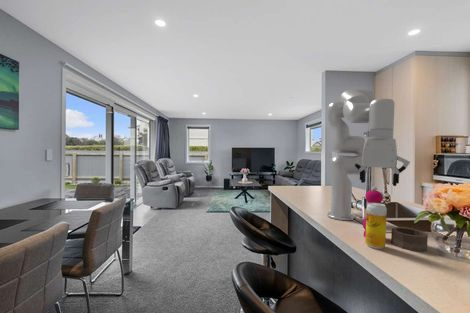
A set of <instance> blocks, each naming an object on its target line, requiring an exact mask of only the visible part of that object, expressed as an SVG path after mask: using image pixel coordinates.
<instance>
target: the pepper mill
mask: <svg viewBox="0 0 470 313" xmlns="http://www.w3.org/2000/svg"><path fill="white" fill-rule="evenodd" d="M364 197H365V200H366V201H367V202H366V206H367V205H368V203H380V204H382V201H384V196H383V194H382V192H380V191H378V188H377V187H376V186H372V187H371V190H368V191H367V192H366V193H365V196H364ZM362 228H363V230H364V231H363V237H364V238H366V216H365V217H364V219H363V221H362Z"/></svg>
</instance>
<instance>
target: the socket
mask: <svg viewBox="0 0 470 313" xmlns="http://www.w3.org/2000/svg"><path fill="white" fill-rule="evenodd" d="M390 237H391V241H390V243H391V244H392V245H393V246H395V247H399V248H401V249H403V250H408V251H413V252H425V251H428V238H429V234H428V233H427V232H425V231H423V230H418V229H416V228H410V227H404V226H393V227H392V228H391V236H390Z"/></svg>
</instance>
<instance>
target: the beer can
mask: <svg viewBox="0 0 470 313" xmlns="http://www.w3.org/2000/svg"><path fill="white" fill-rule="evenodd" d="M387 210H388V209H387V207H386V204H384V203H368V205H367V204H366V213H365V214H366V215H365V217H366V237H364V238H365V239H364V240H365V244H366V246H367V247H369V248H370V249H374V250H383V249H384V248H385V247H386V235H387V212H388V211H387Z"/></svg>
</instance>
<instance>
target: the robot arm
mask: <svg viewBox="0 0 470 313" xmlns="http://www.w3.org/2000/svg"><path fill="white" fill-rule="evenodd" d="M339 99H340V101H338V100H337V101H333V102H331V103H329V105H328V106H327V112H326V114H327V120H328V124H329V126H330V128H331V141H332V150H333V152H334V153H335V154H340V155H336V156H333V157H332V158H331V159H330V170H331V171H330V172H331V190H330V191H331V194H330V195H331V197H330V212H329V211H328V212H327V217H329V218H331V219H333V220H337V221H353V220H354V219H355V216H354V215H352V198H353V197H352V196H353V183H352V181H351V179H350V178H349V175H354V176H359V181H360V182H361V183H362V184H364V183H366V177H367V176H366V175H367V173H368V171H369V168H382V169H391V170H392V171H393V177H392V186H394V187H396V186H397V184H399V183H400V174H401V173H402V172H404V171H405V170H406V169H407V168H408V167H409V165H410V164H411V161H409V160H408V159H406V158H403V157H401V156H399V155H398V148H397V141H396V138H394V124H395V107H396V106H395V100H393V99H392V98H376V95H375V92H374V90H372V89H369V88H349V89H346V90H345V91H343V92H342V93H341V95H340V97H339ZM342 118H343V119H344V118H345V120H347V122H349V123H351V124H368V130H367V131H366V132H365V131H364V132H363V136H364V137H367V138H364V137H363V136H361V135H351V134H350V128H349V125H348V124H347V123H346V121H345V120H343V119H342ZM398 162H400V163H403V164H402V166H400V167H399V168H398V167H397V164H398Z"/></svg>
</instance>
